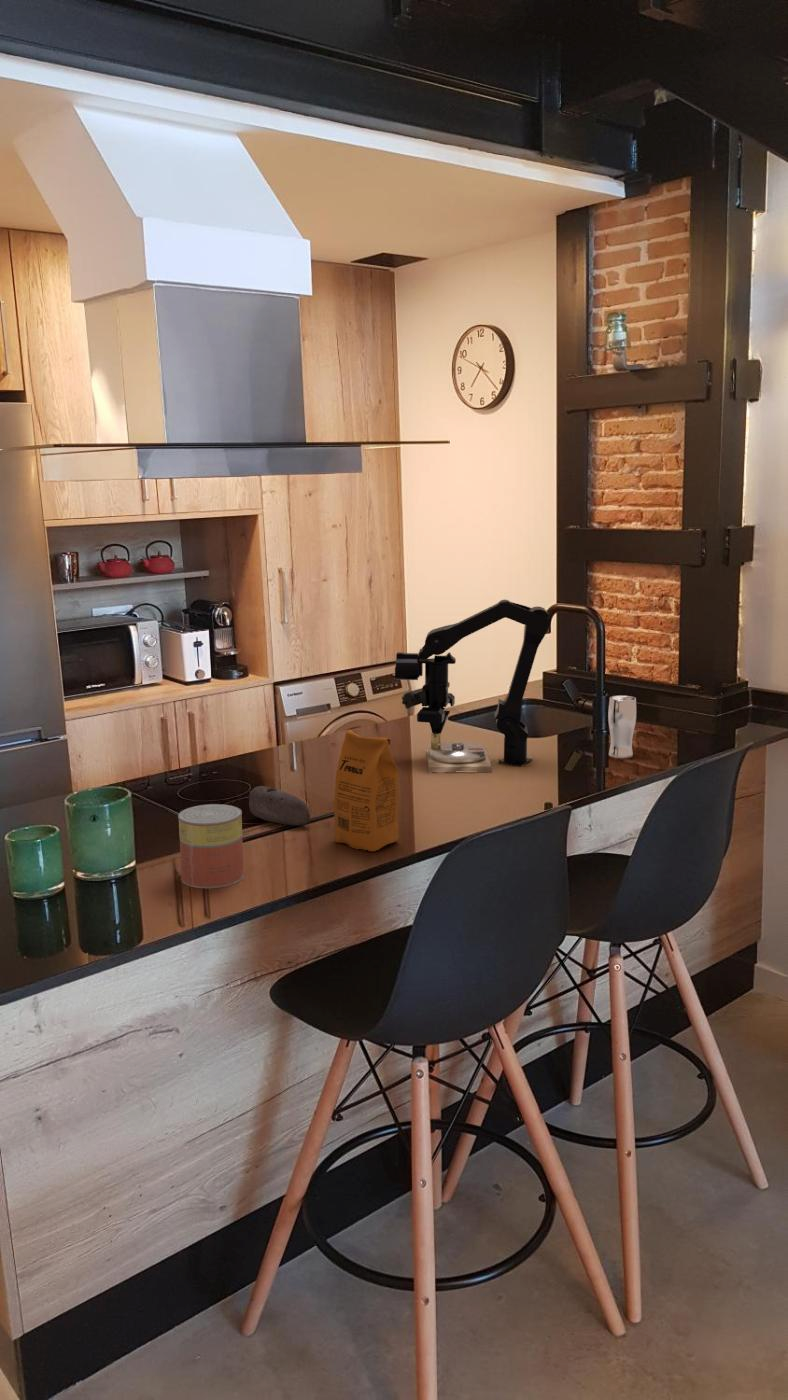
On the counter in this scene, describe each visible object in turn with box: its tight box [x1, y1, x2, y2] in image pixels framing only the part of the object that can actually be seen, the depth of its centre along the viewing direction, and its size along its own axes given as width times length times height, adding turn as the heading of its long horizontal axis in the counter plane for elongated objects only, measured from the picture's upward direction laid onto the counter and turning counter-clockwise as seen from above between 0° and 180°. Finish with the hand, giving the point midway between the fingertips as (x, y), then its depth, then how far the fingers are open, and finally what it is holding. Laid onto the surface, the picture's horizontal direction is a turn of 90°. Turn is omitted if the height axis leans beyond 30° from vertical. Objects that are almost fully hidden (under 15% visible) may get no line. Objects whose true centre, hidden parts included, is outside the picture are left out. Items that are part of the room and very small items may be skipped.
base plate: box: [425, 748, 492, 773], centre depth 270 cm, size 15×18×2 cm
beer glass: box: [607, 695, 637, 759], centre depth 275 cm, size 7×7×15 cm
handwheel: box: [429, 732, 487, 763], centre depth 269 cm, size 14×14×6 cm
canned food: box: [177, 803, 245, 889], centre depth 194 cm, size 11×11×12 cm
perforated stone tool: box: [248, 785, 311, 827], centre depth 225 cm, size 15×5×7 cm, turn 54°
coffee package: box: [333, 729, 400, 852], centre depth 211 cm, size 10×12×22 cm
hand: (436, 740), depth 272 cm, fingers closed
